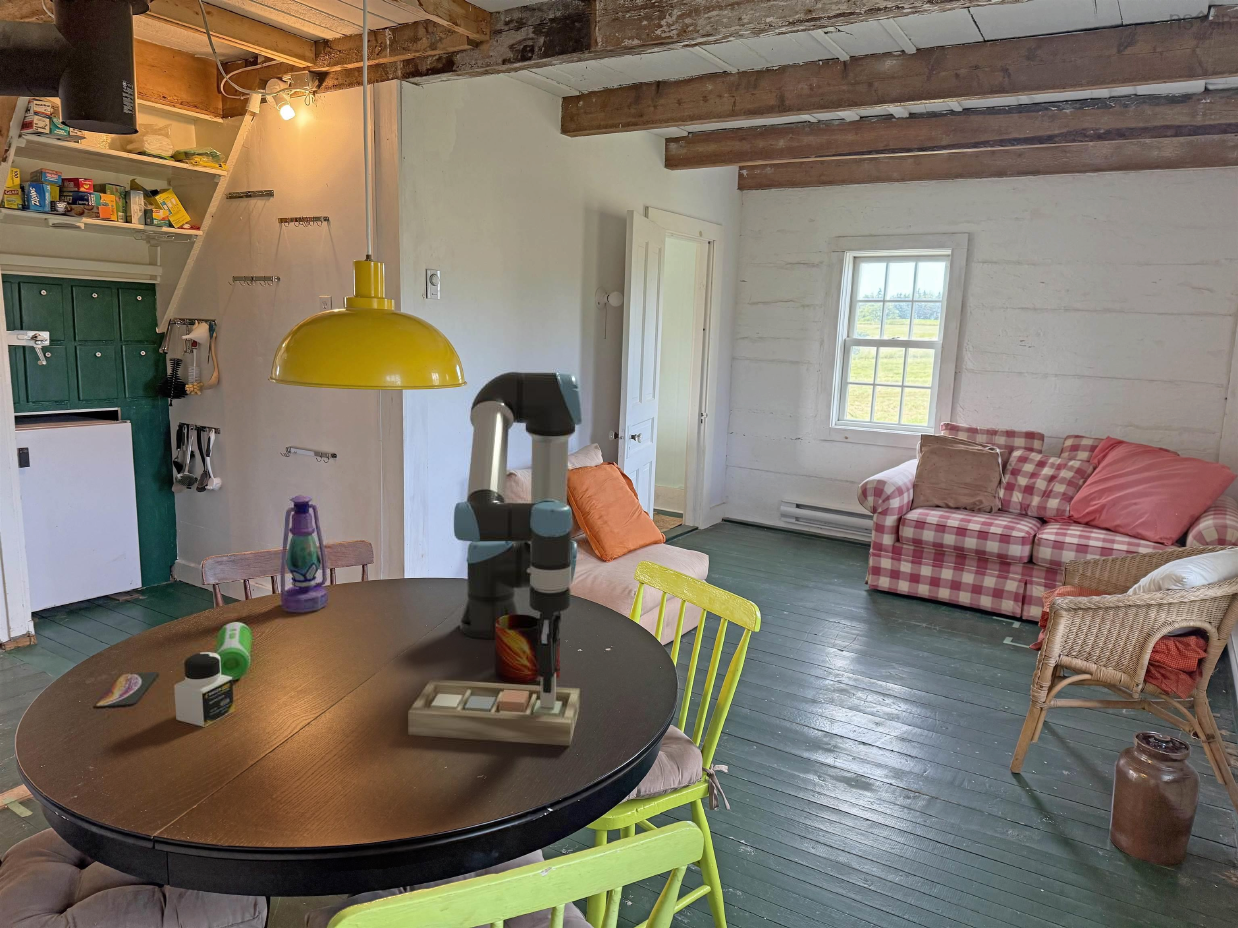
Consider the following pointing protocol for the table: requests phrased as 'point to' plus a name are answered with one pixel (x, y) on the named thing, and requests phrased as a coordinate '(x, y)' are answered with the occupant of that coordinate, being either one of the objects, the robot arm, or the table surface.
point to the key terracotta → (514, 701)
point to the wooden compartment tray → (493, 715)
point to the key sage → (548, 709)
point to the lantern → (303, 559)
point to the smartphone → (127, 690)
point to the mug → (517, 649)
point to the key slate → (480, 704)
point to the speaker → (234, 649)
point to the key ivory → (447, 701)
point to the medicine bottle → (203, 691)
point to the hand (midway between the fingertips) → (547, 705)
